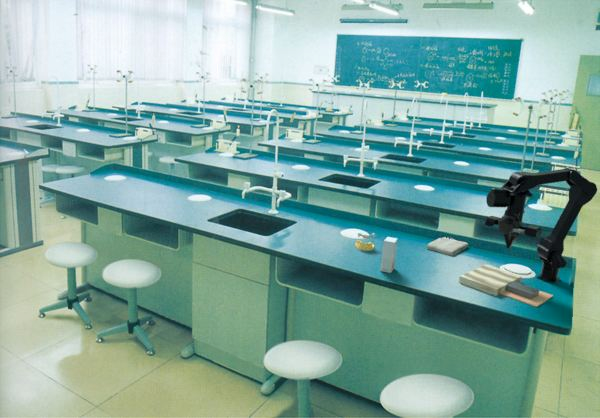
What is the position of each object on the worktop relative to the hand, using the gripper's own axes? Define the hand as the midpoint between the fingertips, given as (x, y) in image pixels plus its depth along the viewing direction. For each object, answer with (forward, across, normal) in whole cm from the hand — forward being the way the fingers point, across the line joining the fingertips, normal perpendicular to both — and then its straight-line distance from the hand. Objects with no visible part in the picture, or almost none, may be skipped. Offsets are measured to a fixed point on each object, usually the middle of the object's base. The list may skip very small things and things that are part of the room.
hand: (508, 248), depth 183 cm
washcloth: (+12, -30, +15) cm, 36 cm away
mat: (+12, +12, -9) cm, 19 cm away
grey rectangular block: (+12, +10, -9) cm, 18 cm away
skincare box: (+12, -33, -28) cm, 45 cm away
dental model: (+12, -53, -16) cm, 56 cm away
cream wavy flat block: (+12, -2, -8) cm, 14 cm away
